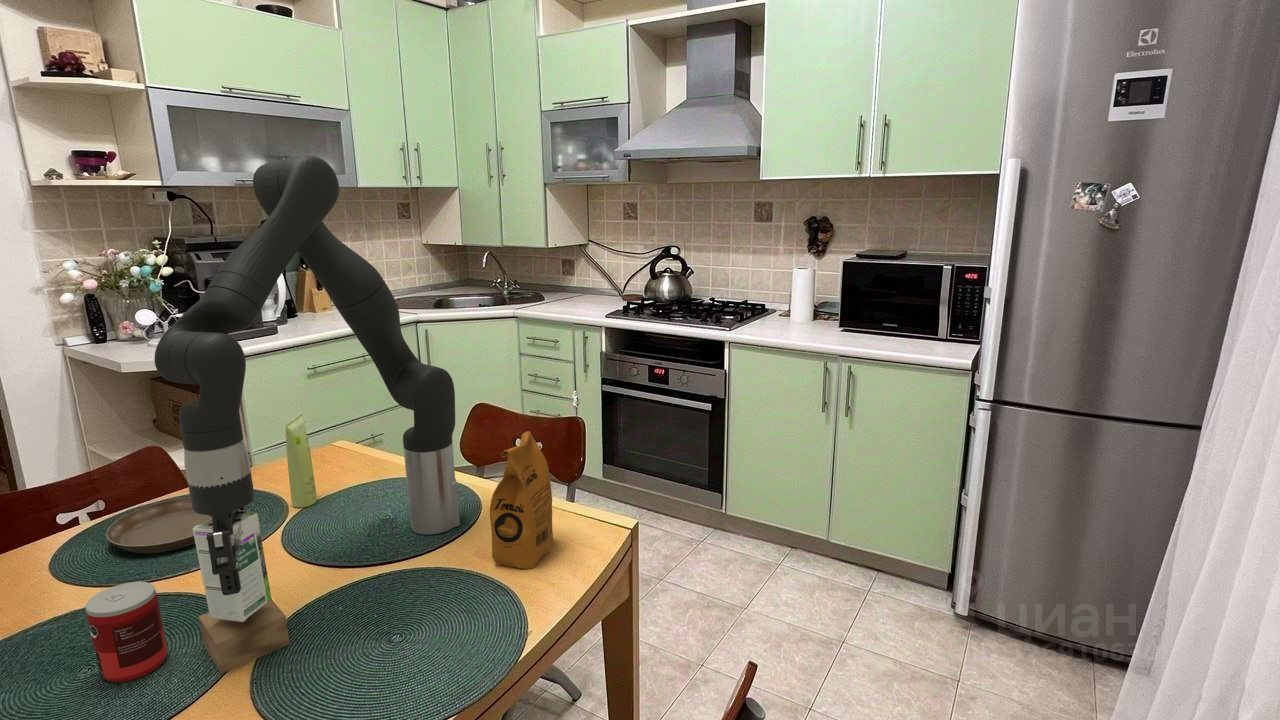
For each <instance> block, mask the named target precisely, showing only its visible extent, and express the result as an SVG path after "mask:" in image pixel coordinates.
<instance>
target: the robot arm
mask: <svg viewBox="0 0 1280 720" xmlns="http://www.w3.org/2000/svg"><path fill="white" fill-rule="evenodd" d="M339 183H340V182H339V180H338V177H337V174H336V172H335V170H334V168H332V167H331V165H330V164H329V162H327V161H325V160H324V159H323V158H320V157H319V156H316V155H309V154H307V155H306V154H305V155H294V156H292V157H286V158H282V159H277V160H275V161H274V160H273V161H271V162H266V163H263V164H262V165H260V166H259V167H258V168H257V169H256V170H255V171H254V173H253V176H252V186H253V187H252V188H253V192H254V195H255V198H256V200H257V202H258V203H259V206H260V207H261V209H262V210H263V211H264V213H265V214H266V215H267V219H265V221H263V223H262V224H261V225H260V226H259V227H258V228H257V229H256V230H255V231H253V232H252V234H251V235H250V236H248V238H246V239H245V240H244V241H243V242H242V243H240V245H239V246H237V248H235V249H234V250H233V252H231V253H230V254H229V255H228V257H227V258H226V259H225V260H224V262H223V263H222V264H221V266H220V267H219V269H218V270H217V271H216V273H215V275H213V277H212V280H211V281H210V283H209V284H208V286H207V287H206V289H205V291H204V293H203V294H202V297H201V298H199V300H198V301H196V303H194V304H193V305H192V306H191V307H189V308H188V309H187V310H186V311H185V312H184V313H183V314H182V315H181V316H180V317H179V318H177V320H176V321H175V322H173V324H172V325H170V326H169V328H168V329H167V330H165V332H164V333H163V335H162V336H161V338H160V339H159V341H158V342H157V345H156V348H155V350H154V351H155V352H154V366H155V369H156V371H157V373H158V374H159V375H160V376H161V377H162V378H163V379H165V380H166V381H169V382H172V383H177V384H187V385H199V397H198V399H195V400H192V401H190V402H188V403H187V402H186V404H184V405H183V406H182V407H181V408H180V409H179V414H178V421H179V429H180V434H181V440H182V445H183V454H184V456H183V457H184V458H183V459H184V460H183V462H184V470H185V475H186V480H187V487H188V493H189V497H190V499H191V504H192V509H193V510H194V511H195V512H196V513H198V514H202V515H209V516H211V517H212V523H209V525H208V526H212V528H213V532H212V533H208V534H207V537H206V539H207V541H208V547H209V553H210V559H211V565H212V573H213V575H216V574H219V578H220V584H221V589H222V594H223V595H231V594H236V593H239V592H240V590H241V583H240V577H239V571H238V566H239V564H238V552H239V551H240V550H241V537H240V530H241V529H242V525H241V520H242V518H237V519H236V515H237V514H243V513H244V511H247V510H246V506H248V505H249V504H251V502H253V500H254V498H255V489H254V484H253V478H252V470H251V464H250V462H251V461H250V456H249V453H248V452H249V451H248V448H247V445H246V442H245V438H244V433H243V426H242V420H241V414H240V411H241V410H240V408H241V402H242V397H243V390H244V384H245V377H246V367H247V362H246V355H245V352H244V350H243V348H242V346H241V345H240V342H238V341H237V339H236V338H234V336H231V335H229V334H232V333H235V332H239V331H243V330H246V329H248V328H249V327H251V326H252V325H253V324H254V323H255V321H256V320H257V318H258V316H259V314H260V312H261V310H262V308H264V305H265V304H266V301H267V300H268V297H269V295H271V292H272V291H273V288H274V286H275V285H276V284H277V282H278V280H279V278H280V276H282V274H283V272H284V270H285V269H286V268H287V266H288V264H290V262H291V261H292V259H293V258H294V256H295V255H296V253H298V255H300V257H301V258H302V259H303V261H304V262H305V263H306V265H307V266H308V268H309V270H310V271H311V272H312V274H313V275H314V276H315V278H316V280H318V282H319V283H320V285H321V286H322V288H323V289H324V291H325V292H326V293H327V295H328V298H330V300H331V302H332V303H333V306H334V307H335V308H336V310H337V311H338V312H339V314H340V316H341V317H342V318H343V320H344V321H345V323H346V324H347V326H348V327H349V328H350V329H351V331H352V332H353V334H354V335H355V338H356V339H357V340H358V341H359V342H360V344H361V346H362V347H363V348H364V350H365V352H366V353H367V354H368V355H369V356H370V359H371V360H372V361H373V363H374V365H375V367H376V369H377V371H378V373H379V375H380V377H381V378H382V381H383V382H384V384H385V386H386V389H387V391H388V392H389V394H390V396H391V397H392V398H393V400H394V401H395V403H397V404H398V405H399V406H400V407H402V408H404V409H407V410H411V411H413V426H411V427H409V428H407V429H406V430H405V431H404V432H403V435H402V443H403V445H402V446H403V455H404V467H405V478H406V487H407V488H406V489H407V490H406V491H407V500H408V511H409V522H410V523H409V524H410V528H411V531H413V532H414V533H416V534H418V535H437V534H442V533H445V532H448V531H450V530H452V529H454V528H456V527H460V526H461V521H460V506H459V493H458V492H459V491H458V490H459V489H458V483H457V482H458V481H457V480H456V473H455V472H456V471H455V459H454V458H455V457H454V444H453V434H454V431H455V428H456V394H455V393H456V391H455V385H454V384H455V383H454V381H453V378H452V376H451V374H450V373H449V372H448V371H447V370H446V369H444V368H442V367H439V366H435V365H432V364H431V365H430V364H425V363H423V362H422V361H420V360H419V359H418V358H417V356H415V354H414V352H413V351H412V350H411V348H410V346H409V345H408V344H407V342H406V340H405V338H404V336H403V333H402V328H401V317H400V311H399V310H400V309H399V307H398V303H397V300H396V299H395V296H394V295H393V293H392V291H391V290H390V288H389V287H388V285H387V283H386V281H385V280H384V278H383V277H382V275H381V273H380V272H379V271H378V270H377V269H376V267H374V265H372V264H371V263H370V262H369V261H367V259H365V258H364V257H362V256H361V255H359V253H357V252H356V251H354V250H353V249H351V248H350V247H349V246H347V245H346V244H345V243H343V242H342V241H341V240H339V239H338V237H336V236H335V235H334V233H332V232H331V230H330V229H329V228H328V227H327V225H326V224H325V223H324V221H323V220H324V219H325V218H326V217H327V215H328V214H330V212H331V210H332V209H333V208H334V206H335V205H336V203H337V201H338V199H339V194H340V186H339V185H340V184H339ZM238 510H242V511H238ZM234 523H239V527H238V530H237V532H236V535H235V544H234V545H233V546H232V543H231V537H230V536H231V535H233V524H234ZM222 557H227V558H228V562H223V563H221V558H222Z"/></svg>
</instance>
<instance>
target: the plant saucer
mask: <svg viewBox="0 0 1280 720" xmlns="http://www.w3.org/2000/svg"><path fill="white" fill-rule="evenodd" d="M211 518H212V517H211V516H209V515H202V514H198V513H196V512H195V511H194V510H193V509H192V504H191V499H190V496H188V497H181V498H175V499H171V500H165V501H162V502H157V503H154V504H150V505H147V506H144V507H142V508H139V509H137V510H135V511H132V512H130V513H127V514H125V515H123V516H122V517H120V518H118V519H117V520H115V521H114V522H113V523H112V524H111V525H110V526H109V527H108V529H107V531H106V532H105V533H106V534H105V537H106V538H107V539H106V540H108V541H109V543H111V544H112V545H114V546H115V547H117V548H119V549H122V550H125V551H127V552H130V553H136V554H156V553H157V554H158V553H165V552H170V551H174V550H175V551H176V550H179V549H183V548H186V547H189V546H192V545H194V544H195V545H196V543H195V538H194V533H193V528H194V527H195V526H197V525H200V524H202V523H203V522H205V521H207V520H209V519H211Z"/></svg>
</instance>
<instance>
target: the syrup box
mask: <svg viewBox="0 0 1280 720" xmlns="http://www.w3.org/2000/svg"><path fill="white" fill-rule="evenodd" d="M238 511H242V510H238ZM237 518H242V520H241V525H242V529H241V530H240V537H241V550H240V551H239V552H238V564H239V566H238V571H239V577H240V583H241V590H240V592H239V593H236V594H231V595H223V594H222V589H221V584H220V578H219V574H216V575H213V573H212V565H211V559H210V553H209V547H208V541H207V539H206V537H207V534H208V533H212V532H213V528H212V526H208V525H209V523H212V518H211V519H209V520H207V521H205V522H203V523H202V524H200V525H197V526H195V527H194V528H193V533H194V538H195V548H196V553H197V559H198V564H199V567H200V573H201V574H200V575H201V578H202V582H203V583H202V584H203V587H204V593H205V598H206V603H207V608H208V613H209V614H210V617H212V618H217V619H222V620H230V621H238V622H244V621H245V620H246V619H247V618H248V617H249V616H250V615H252V614H253V613H255V612H256V611H257V610H258V609H260V608H261V607H262V606H263V605H265V604H266V603H267V602H269V601H270V600H271V599H272V593H271V587H270V582H269V576H268V570H267V564H266V558H265V552H264V546H263V540H262V535H261V534H262V533H261V528H260V522H259V516H258V513H257V512H255V511H249V510H246V511H244V513H243V514H237V515H236V519H237ZM238 527H239V523H234V524H233V535H231V536H230V537H231V543H232V546H233V545H234V544H235V535H236V532H237V530H238ZM223 562H228V558H227V557H222V558H221V563H223ZM272 600H273V599H272Z"/></svg>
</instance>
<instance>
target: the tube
mask: <svg viewBox="0 0 1280 720" xmlns="http://www.w3.org/2000/svg"><path fill="white" fill-rule="evenodd" d="M285 444H286V445H285V446H286V457H287V459H286V460H287V469H288V479H289V481H288V482H289V489H290V498H291V505H292V507H294V508H297V509H298V508H308V507H311V506H312V505H315V504H316V503H317V501H318V495H317V489H316V488H317V487H316V481H315V474H314V469H313V462H312V454H311V449H310V445H309V438H308V434H307V428H306V424H305V420H304V416H303V412H300V414H298V415H297V416H295V417H294V418H293V419H292V420H290V421H289V422H287V423H286V424H285Z"/></svg>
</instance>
